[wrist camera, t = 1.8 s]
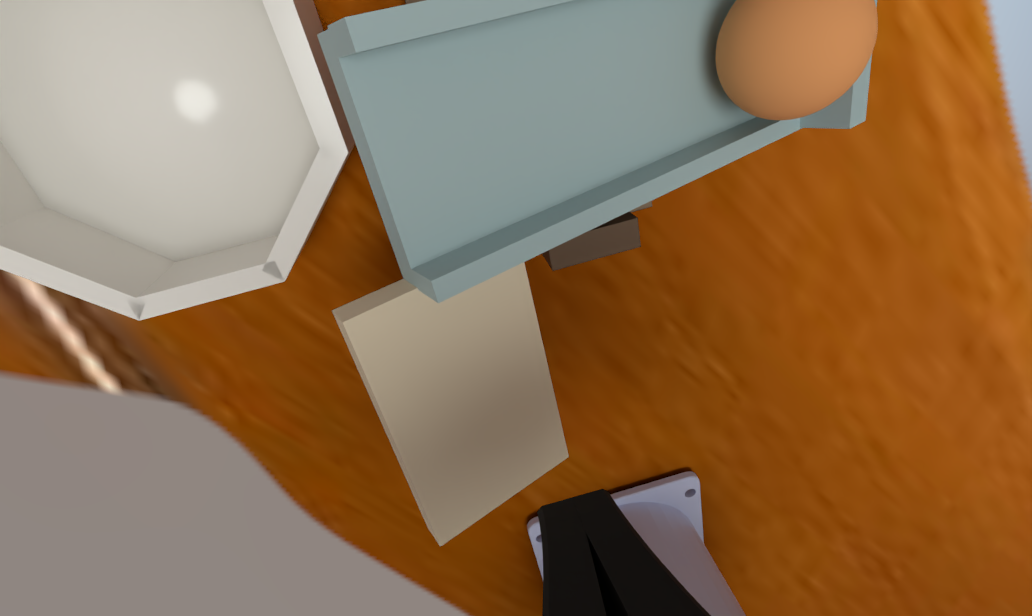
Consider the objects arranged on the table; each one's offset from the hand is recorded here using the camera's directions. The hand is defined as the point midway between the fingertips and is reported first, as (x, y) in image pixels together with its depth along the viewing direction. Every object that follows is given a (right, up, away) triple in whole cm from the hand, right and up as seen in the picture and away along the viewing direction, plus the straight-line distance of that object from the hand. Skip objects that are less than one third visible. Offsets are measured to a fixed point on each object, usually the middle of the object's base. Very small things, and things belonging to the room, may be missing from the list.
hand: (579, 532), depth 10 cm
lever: (+1, +7, +4) cm, 8 cm away
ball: (+6, +11, +3) cm, 12 cm away
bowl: (-11, +10, +4) cm, 15 cm away
